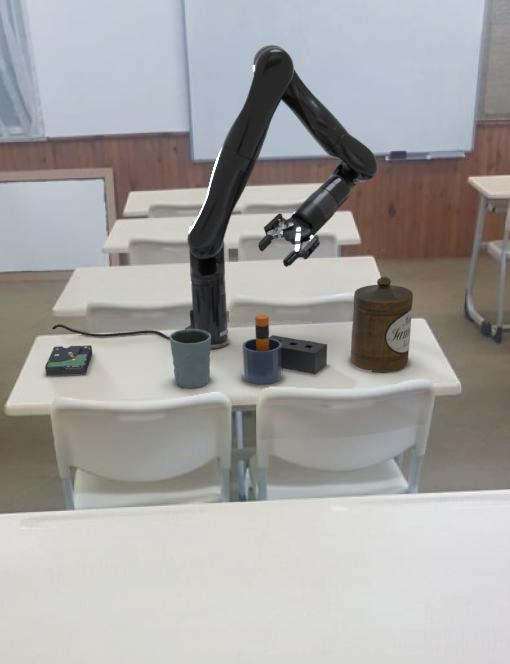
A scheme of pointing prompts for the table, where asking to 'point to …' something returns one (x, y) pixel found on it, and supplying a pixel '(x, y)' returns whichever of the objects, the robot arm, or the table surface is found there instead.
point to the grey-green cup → (191, 357)
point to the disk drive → (69, 360)
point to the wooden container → (381, 327)
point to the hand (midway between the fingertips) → (272, 256)
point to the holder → (302, 354)
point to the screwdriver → (262, 332)
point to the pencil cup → (262, 363)
